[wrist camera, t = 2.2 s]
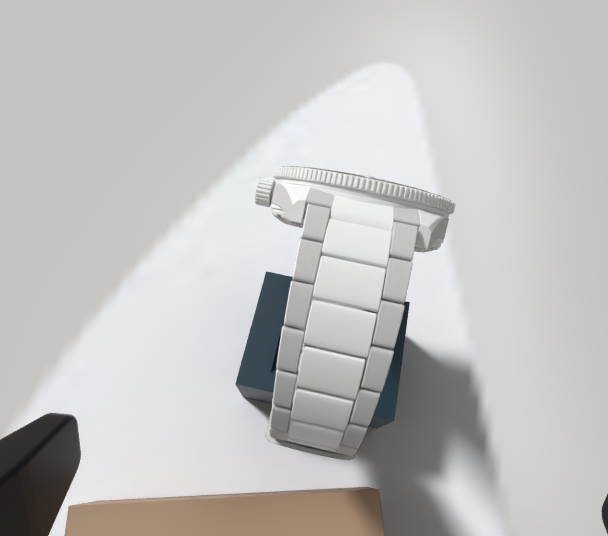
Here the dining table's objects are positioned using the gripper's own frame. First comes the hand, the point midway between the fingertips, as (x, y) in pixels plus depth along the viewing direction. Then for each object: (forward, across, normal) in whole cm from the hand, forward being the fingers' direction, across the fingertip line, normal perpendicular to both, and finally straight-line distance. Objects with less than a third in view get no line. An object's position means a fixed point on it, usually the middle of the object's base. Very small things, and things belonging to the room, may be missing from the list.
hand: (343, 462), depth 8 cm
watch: (+11, 0, +5) cm, 12 cm away
